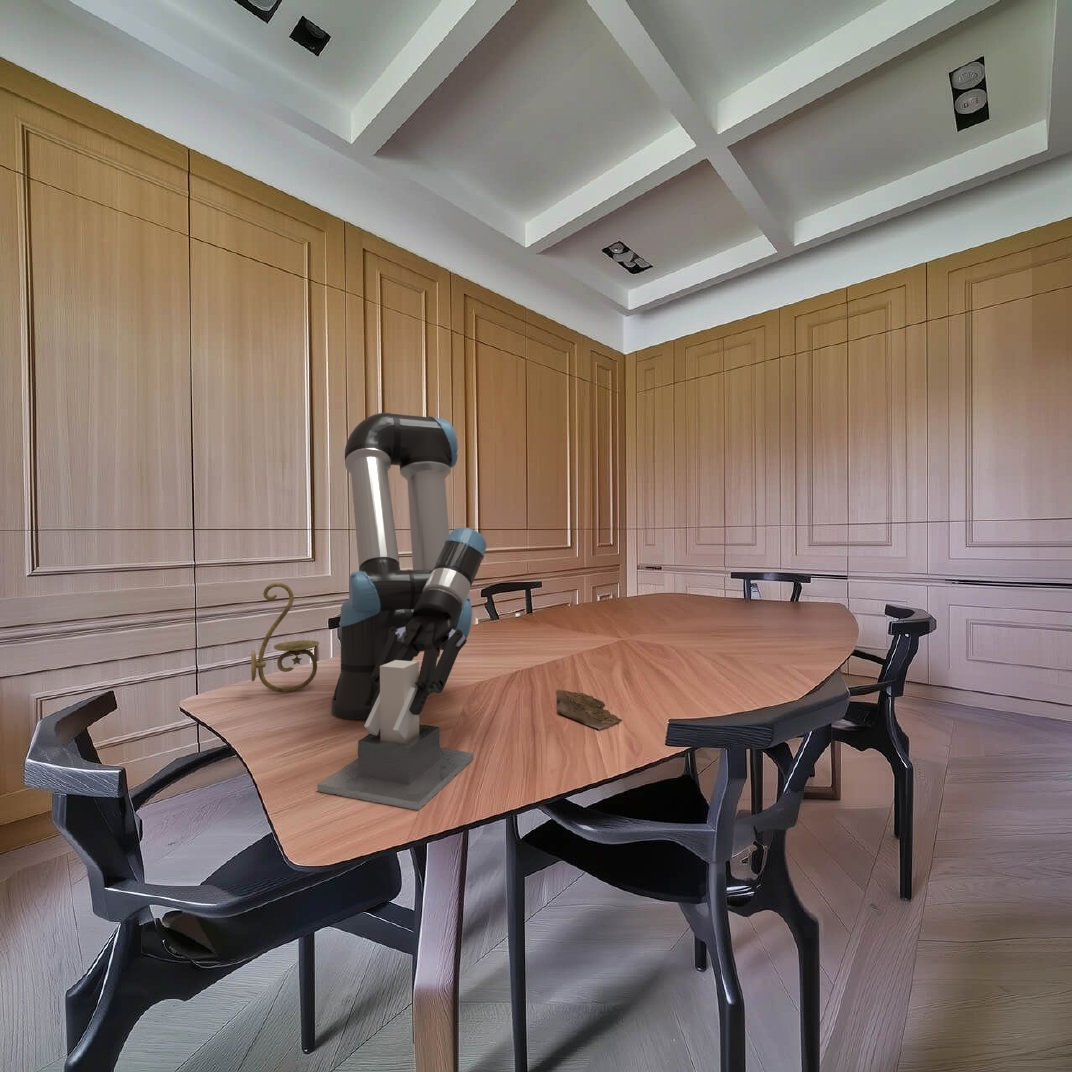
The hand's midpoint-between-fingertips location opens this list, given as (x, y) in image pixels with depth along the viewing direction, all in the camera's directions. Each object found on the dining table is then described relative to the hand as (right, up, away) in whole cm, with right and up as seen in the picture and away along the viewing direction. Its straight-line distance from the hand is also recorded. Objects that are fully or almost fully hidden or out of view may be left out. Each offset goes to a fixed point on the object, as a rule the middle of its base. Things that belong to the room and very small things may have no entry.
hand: (384, 732), depth 73 cm
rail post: (+1, -5, +4) cm, 6 cm away
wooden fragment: (+30, -8, +33) cm, 45 cm away
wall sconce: (-35, -8, +45) cm, 58 cm away
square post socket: (+1, -8, +4) cm, 8 cm away
